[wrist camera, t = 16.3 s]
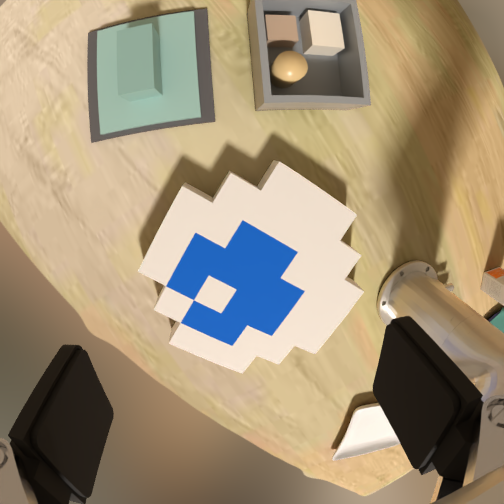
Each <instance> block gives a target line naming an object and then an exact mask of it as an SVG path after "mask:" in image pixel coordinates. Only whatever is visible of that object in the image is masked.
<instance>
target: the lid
mask: <svg viewBox="0 0 504 504" xmlns="http://www.w3.org/2000/svg"><path fill="white" fill-rule="evenodd" d="M97 90H98V109H99V123H100V134H102V135H104V134H108V133H112V132H117V131H122V130H126V129H131V128H136V127H142V126H147V125H153V124H158V123H164V122H171V121H178V120H185V119H192V118H200V117H201V108H200V95H199V82H198V69H197V53H196V37H195V18H194V11H190V12H183V13H176V14H169V15H163V16H158V17H153V18H148V19H143V20H138V21H134V22H130V23H126V24H122V25H118V26H114V27H110V28H107V29H103V30H100V31H97Z"/></svg>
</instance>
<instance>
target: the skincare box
mask: <svg viewBox="0 0 504 504" xmlns="http://www.w3.org/2000/svg"><path fill="white" fill-rule="evenodd" d="M481 290H482V291H484V292H485V293H487V294H488V295H489V296H491V297H492V298H494V299H495V300H496V301H498V302H499V303H501V304H502V305H503V306H504V269H502V268H500V267H498V268H495V269H492V270H489V271H486V272H484V273H483V279H482V284H481Z"/></svg>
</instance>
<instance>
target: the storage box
mask: <svg viewBox="0 0 504 504" xmlns="http://www.w3.org/2000/svg"><path fill="white" fill-rule="evenodd" d="M247 20H248V30H249V41H250V52H251V64H252V75H253V87H254V99H255V111H261V110H291V109H322V110H349V109H354V108H359V107H364V106H369V105H371V102H370V90H369V80H368V71H367V63H366V56H365V49H364V42H363V35H362V29H361V24H360V18H359V13H358V8H357V3H356V0H251V1H250V4H249V8H248V12H247Z"/></svg>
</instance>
